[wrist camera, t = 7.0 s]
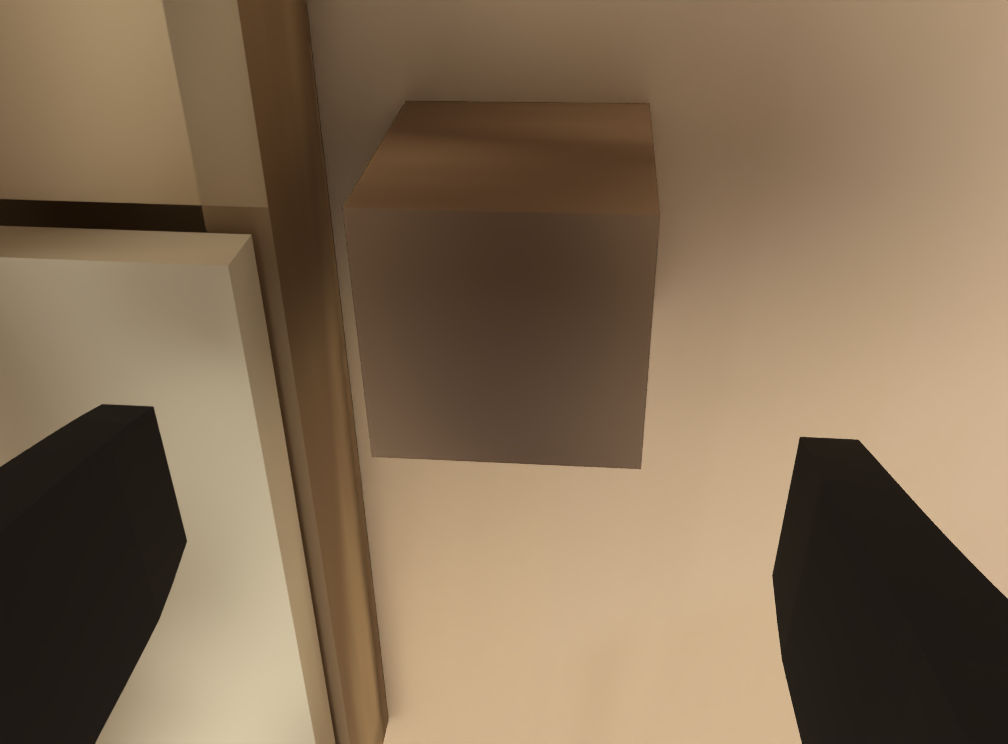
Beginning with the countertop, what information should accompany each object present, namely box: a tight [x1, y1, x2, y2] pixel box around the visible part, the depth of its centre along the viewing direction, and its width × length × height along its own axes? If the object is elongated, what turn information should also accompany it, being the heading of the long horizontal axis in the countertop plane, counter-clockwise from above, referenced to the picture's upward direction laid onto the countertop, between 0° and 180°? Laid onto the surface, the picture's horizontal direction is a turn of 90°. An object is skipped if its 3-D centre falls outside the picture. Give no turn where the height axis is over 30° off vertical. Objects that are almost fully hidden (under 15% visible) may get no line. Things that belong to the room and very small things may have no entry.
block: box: [342, 101, 660, 469], centre depth 15 cm, size 4×4×4 cm
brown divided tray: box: [0, 0, 388, 744], centre depth 18 cm, size 10×20×3 cm, turn 1°
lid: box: [0, 226, 335, 744], centre depth 17 cm, size 10×15×3 cm, turn 1°
